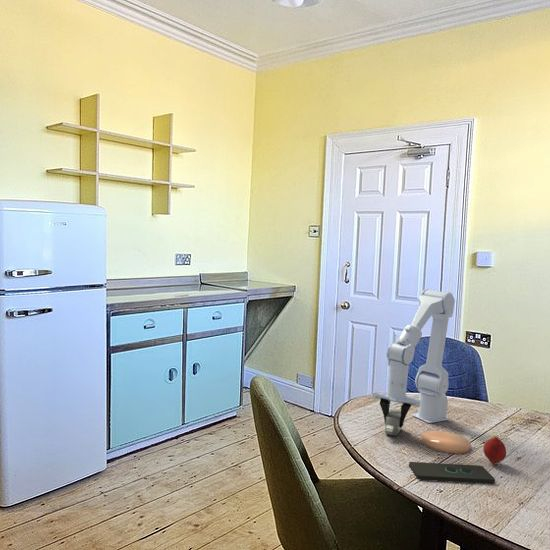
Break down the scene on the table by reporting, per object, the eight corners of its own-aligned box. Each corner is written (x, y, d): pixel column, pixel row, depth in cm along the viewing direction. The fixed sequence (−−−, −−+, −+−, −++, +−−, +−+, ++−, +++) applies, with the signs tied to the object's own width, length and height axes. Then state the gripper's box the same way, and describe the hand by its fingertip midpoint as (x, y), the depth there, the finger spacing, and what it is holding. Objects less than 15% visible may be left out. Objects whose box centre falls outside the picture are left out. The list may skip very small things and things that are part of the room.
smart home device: (496, 479, 129) (418, 475, 128) (495, 486, 129) (417, 481, 128) (482, 464, 137) (408, 460, 137) (481, 471, 137) (407, 467, 137)
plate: (443, 432, 163) (443, 428, 163) (480, 449, 151) (481, 445, 151) (411, 438, 156) (412, 434, 156) (448, 456, 144) (448, 452, 144)
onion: (503, 461, 143) (506, 433, 143) (505, 470, 138) (509, 441, 137) (481, 457, 145) (484, 430, 145) (482, 465, 140) (485, 437, 139)
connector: (390, 423, 165) (391, 408, 165) (402, 426, 164) (404, 410, 163) (381, 436, 154) (383, 420, 154) (394, 439, 152) (396, 422, 152)
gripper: (371, 380, 158) (367, 423, 159) (419, 389, 152) (415, 433, 153) (376, 375, 165) (373, 416, 166) (423, 384, 159) (419, 426, 160)
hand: (393, 424), depth 160 cm, fingers closed on connector, 4 cm apart
